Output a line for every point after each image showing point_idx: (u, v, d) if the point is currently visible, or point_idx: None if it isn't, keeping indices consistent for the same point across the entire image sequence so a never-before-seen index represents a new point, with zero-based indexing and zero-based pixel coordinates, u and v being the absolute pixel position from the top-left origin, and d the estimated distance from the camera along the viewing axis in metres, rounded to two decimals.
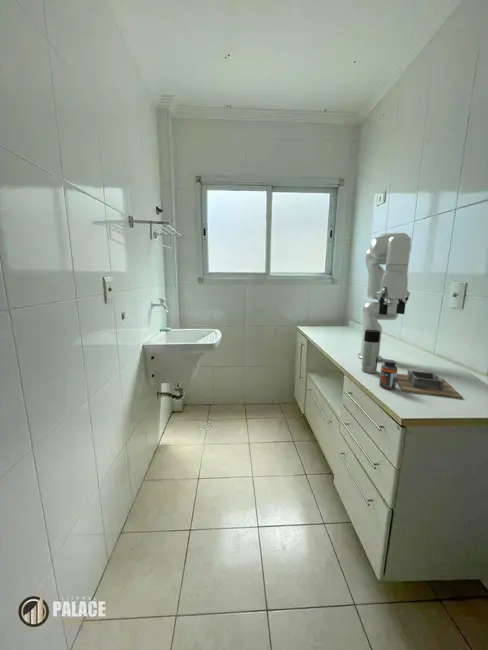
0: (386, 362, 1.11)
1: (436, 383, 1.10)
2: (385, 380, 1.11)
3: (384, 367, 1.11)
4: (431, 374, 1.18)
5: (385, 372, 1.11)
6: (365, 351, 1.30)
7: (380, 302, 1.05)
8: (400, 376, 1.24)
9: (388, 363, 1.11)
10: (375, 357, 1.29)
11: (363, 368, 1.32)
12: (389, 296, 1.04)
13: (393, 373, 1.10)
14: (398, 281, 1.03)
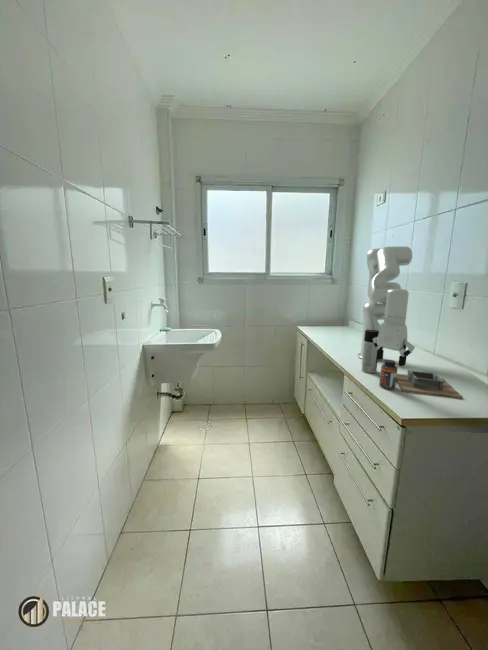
0: (386, 362, 1.11)
1: (436, 383, 1.10)
2: (385, 380, 1.11)
3: (384, 367, 1.11)
4: (431, 374, 1.18)
5: (385, 372, 1.11)
6: (365, 351, 1.30)
7: (406, 355, 1.05)
8: (400, 376, 1.24)
9: (388, 363, 1.11)
10: (375, 357, 1.29)
11: (363, 368, 1.32)
12: None
13: (393, 373, 1.10)
14: None
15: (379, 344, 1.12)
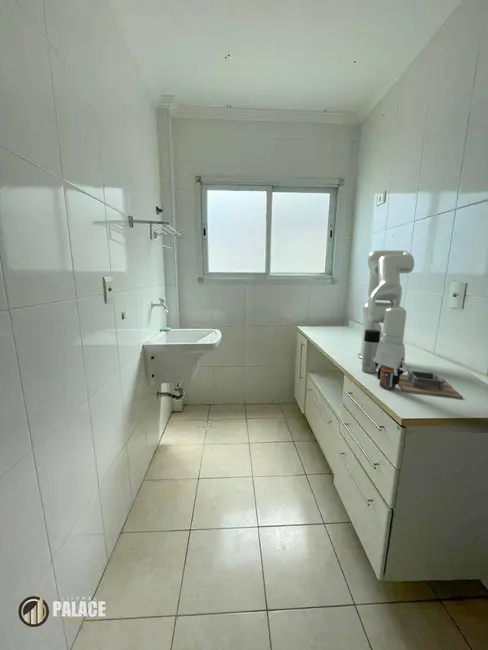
0: None
1: (436, 383, 1.10)
2: (385, 380, 1.11)
3: (384, 367, 1.11)
4: (431, 374, 1.18)
5: (385, 372, 1.11)
6: (365, 351, 1.30)
7: (399, 374, 1.08)
8: (400, 376, 1.24)
9: None
10: None
11: (363, 368, 1.32)
12: None
13: (393, 372, 1.10)
14: None
15: (377, 361, 1.14)
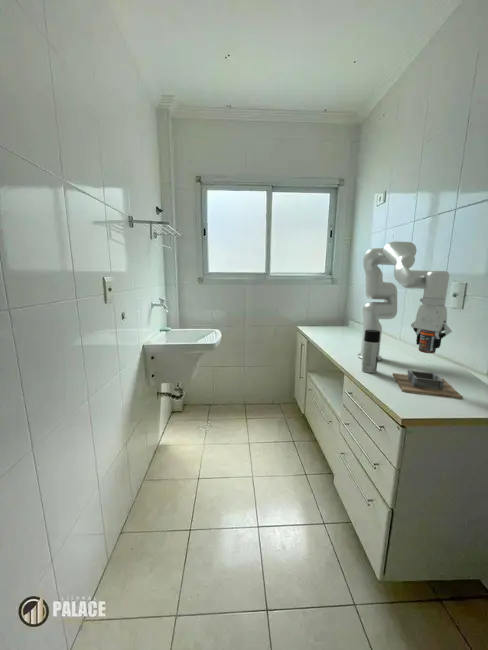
0: None
1: (436, 383, 1.10)
2: (425, 344, 1.11)
3: (424, 331, 1.11)
4: (431, 374, 1.18)
5: (426, 336, 1.10)
6: (365, 351, 1.30)
7: (441, 337, 1.08)
8: (400, 376, 1.24)
9: None
10: (375, 357, 1.29)
11: (363, 368, 1.32)
12: None
13: (434, 336, 1.09)
14: None
15: (417, 326, 1.14)
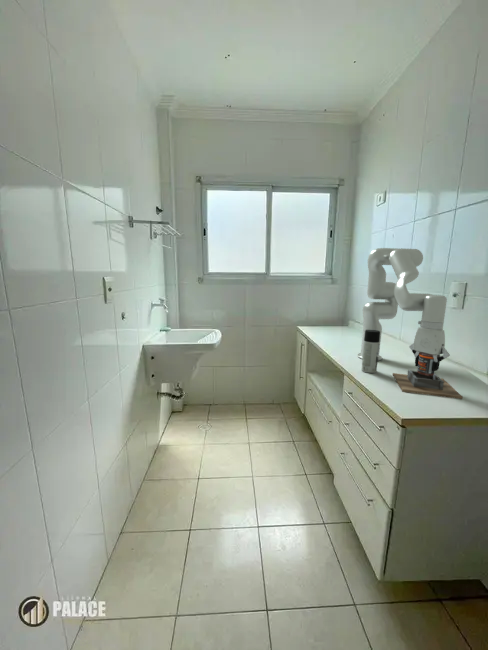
0: None
1: (436, 383, 1.10)
2: (424, 366, 1.12)
3: (423, 354, 1.12)
4: None
5: (424, 359, 1.12)
6: (365, 351, 1.30)
7: (440, 360, 1.09)
8: (400, 376, 1.24)
9: None
10: (375, 357, 1.29)
11: (363, 368, 1.32)
12: None
13: (433, 359, 1.11)
14: None
15: (415, 348, 1.15)
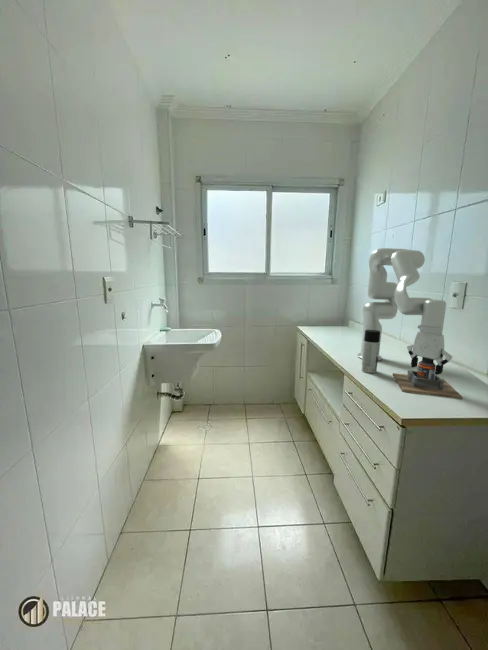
0: (424, 359, 1.13)
1: (436, 383, 1.10)
2: (423, 376, 1.13)
3: (422, 364, 1.13)
4: None
5: (424, 369, 1.13)
6: (365, 351, 1.30)
7: (443, 364, 1.08)
8: (400, 376, 1.24)
9: (426, 360, 1.12)
10: (375, 357, 1.29)
11: (363, 368, 1.32)
12: None
13: (432, 369, 1.11)
14: None
15: (415, 352, 1.15)
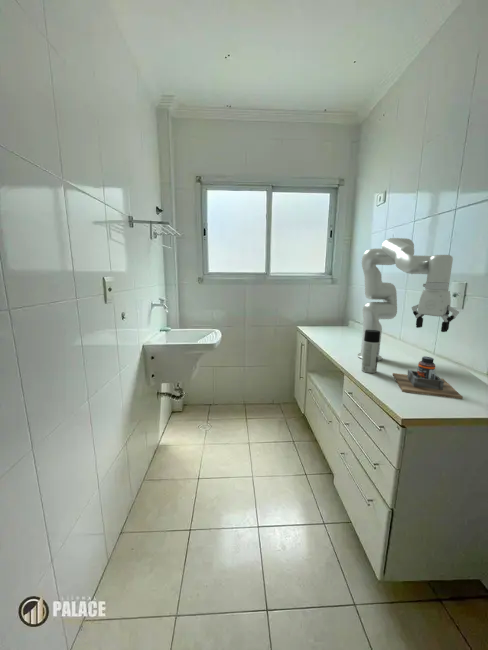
0: (424, 359, 1.13)
1: (436, 383, 1.10)
2: (423, 376, 1.13)
3: (422, 364, 1.13)
4: None
5: (424, 369, 1.13)
6: (365, 351, 1.30)
7: (450, 320, 1.05)
8: (400, 376, 1.24)
9: (426, 360, 1.12)
10: (375, 357, 1.29)
11: (363, 368, 1.32)
12: None
13: (432, 369, 1.11)
14: None
15: (420, 311, 1.13)
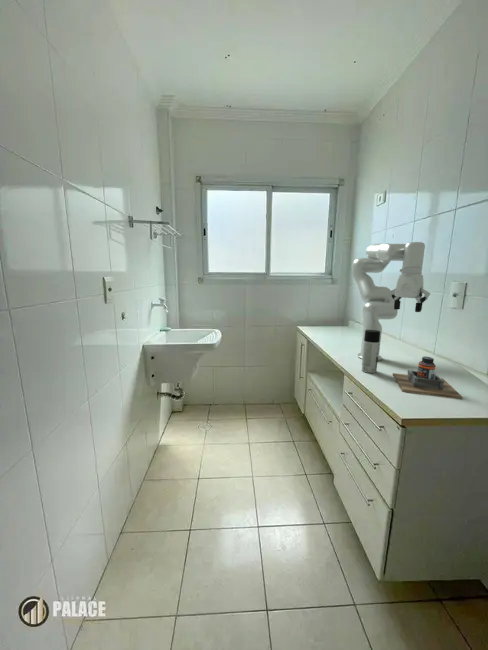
0: (424, 359, 1.13)
1: (436, 383, 1.10)
2: (423, 376, 1.13)
3: (422, 364, 1.13)
4: None
5: (424, 369, 1.12)
6: (365, 351, 1.30)
7: (422, 301, 1.17)
8: (400, 376, 1.24)
9: (426, 360, 1.12)
10: (375, 357, 1.29)
11: (363, 368, 1.32)
12: None
13: (432, 369, 1.11)
14: None
15: (397, 294, 1.24)
